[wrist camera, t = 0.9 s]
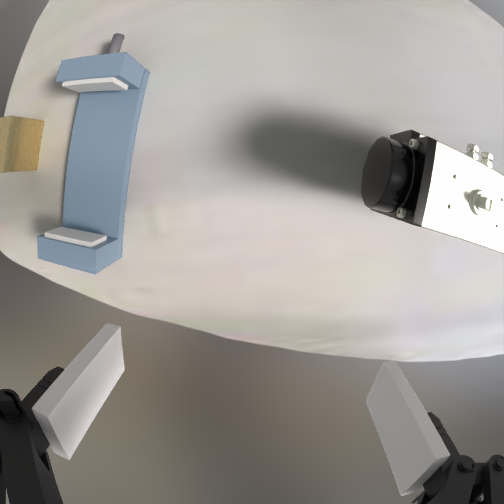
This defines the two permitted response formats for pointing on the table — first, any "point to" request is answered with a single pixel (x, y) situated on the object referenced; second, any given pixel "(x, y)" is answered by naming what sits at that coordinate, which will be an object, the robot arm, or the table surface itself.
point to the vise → (96, 181)
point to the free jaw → (102, 71)
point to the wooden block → (19, 143)
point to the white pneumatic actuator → (436, 188)
